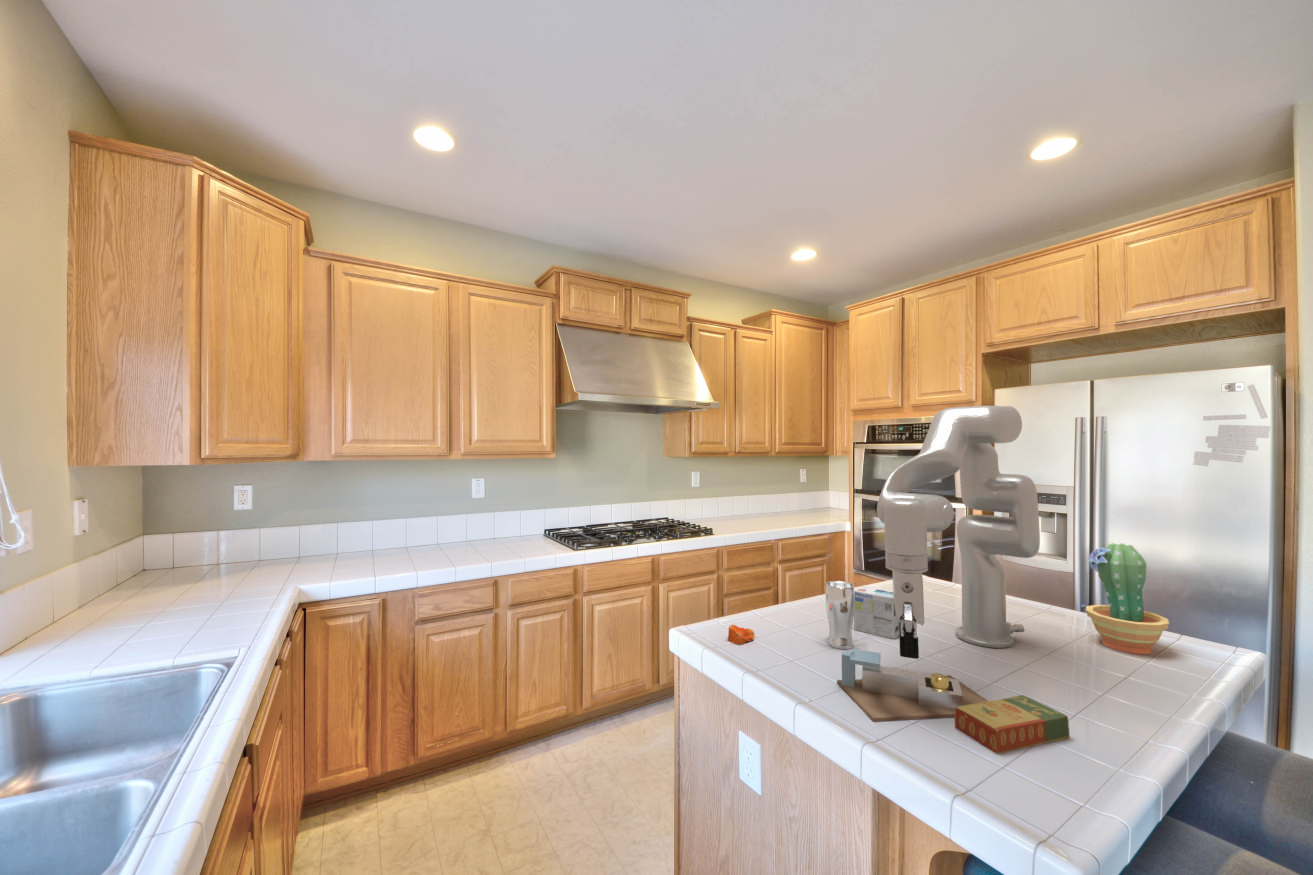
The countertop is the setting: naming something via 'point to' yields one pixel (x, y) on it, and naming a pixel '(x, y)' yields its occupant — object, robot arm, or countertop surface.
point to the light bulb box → (875, 612)
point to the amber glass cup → (939, 681)
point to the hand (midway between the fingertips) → (908, 647)
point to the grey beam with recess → (911, 687)
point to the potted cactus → (1124, 601)
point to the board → (902, 704)
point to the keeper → (857, 663)
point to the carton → (1011, 723)
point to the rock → (740, 635)
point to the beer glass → (840, 613)
